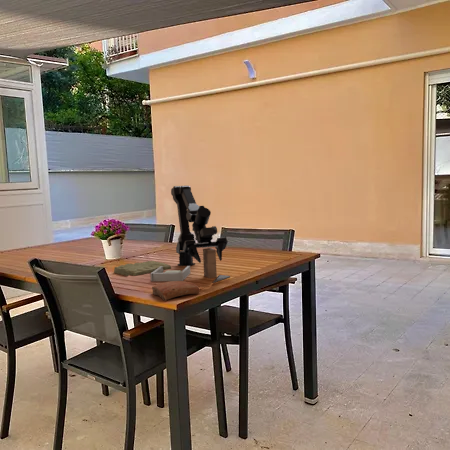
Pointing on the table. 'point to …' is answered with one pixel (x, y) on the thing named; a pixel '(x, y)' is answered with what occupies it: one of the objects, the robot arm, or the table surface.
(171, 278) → the rack
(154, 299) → the table surface
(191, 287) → the ceramic shard
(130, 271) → the decorative tile
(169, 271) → the offcut
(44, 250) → the table surface
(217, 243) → the robot arm
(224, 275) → the mat
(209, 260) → the brown rectangular block
